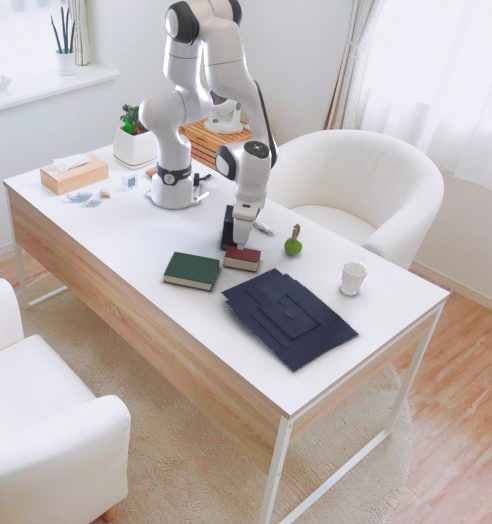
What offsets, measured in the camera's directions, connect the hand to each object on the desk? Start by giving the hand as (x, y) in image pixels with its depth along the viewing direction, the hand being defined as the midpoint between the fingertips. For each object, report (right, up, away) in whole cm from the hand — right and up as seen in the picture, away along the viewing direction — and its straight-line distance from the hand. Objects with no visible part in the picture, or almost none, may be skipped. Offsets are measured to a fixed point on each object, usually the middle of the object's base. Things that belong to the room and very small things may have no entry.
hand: (243, 239), depth 170 cm
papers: (+8, -22, -15) cm, 29 cm away
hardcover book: (-15, -11, 0) cm, 19 cm away
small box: (-1, 0, +15) cm, 15 cm away
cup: (+30, -14, -4) cm, 34 cm away
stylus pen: (+8, +5, +22) cm, 24 cm away
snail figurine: (+17, -4, +9) cm, 19 cm away
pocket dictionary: (0, -7, +5) cm, 9 cm away
